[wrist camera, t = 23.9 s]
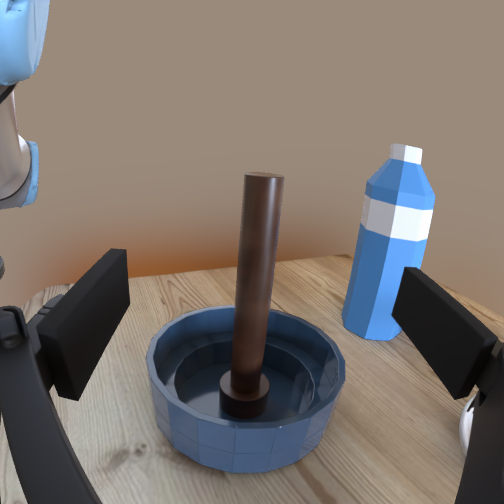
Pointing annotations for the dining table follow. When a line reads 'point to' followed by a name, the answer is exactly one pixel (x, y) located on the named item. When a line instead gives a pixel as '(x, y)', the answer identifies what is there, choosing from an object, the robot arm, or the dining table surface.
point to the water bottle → (388, 242)
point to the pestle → (253, 296)
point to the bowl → (219, 362)
